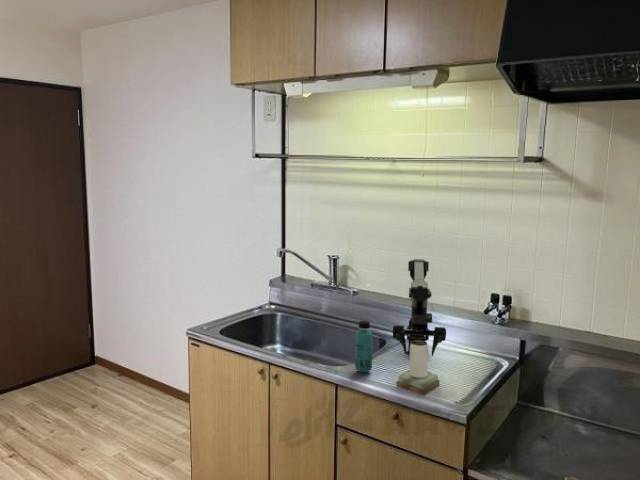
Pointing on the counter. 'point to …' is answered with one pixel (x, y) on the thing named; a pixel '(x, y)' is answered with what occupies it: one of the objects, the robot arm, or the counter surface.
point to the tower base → (418, 390)
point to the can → (418, 359)
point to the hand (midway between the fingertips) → (418, 354)
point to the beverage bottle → (363, 347)
